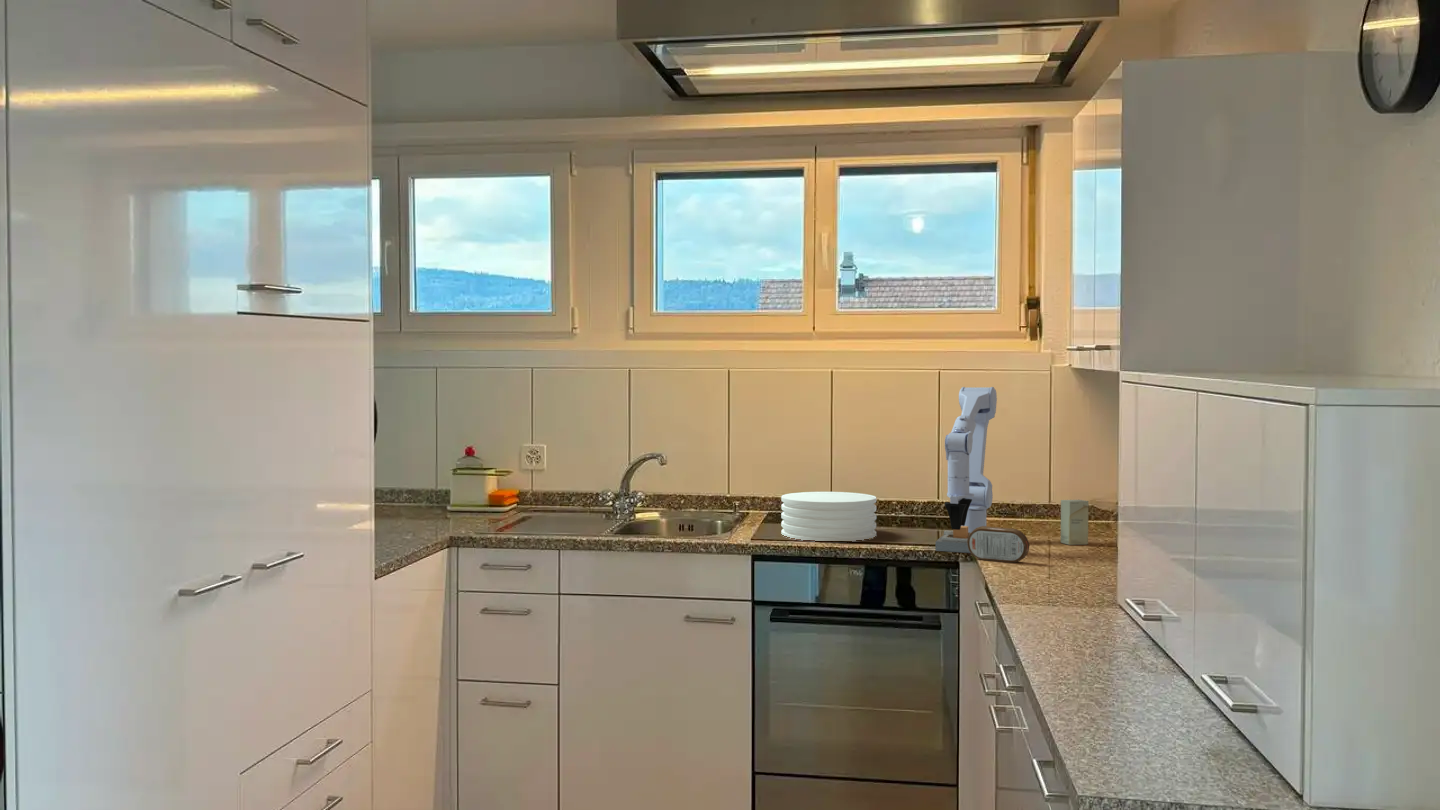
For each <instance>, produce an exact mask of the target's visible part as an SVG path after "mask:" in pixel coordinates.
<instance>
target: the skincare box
mask: <svg viewBox="0 0 1440 810" xmlns="http://www.w3.org/2000/svg"><path fill="white" fill-rule="evenodd" d="M1060 543H1061V544H1063V545H1070V546H1072V545H1073V546H1076V545H1077V546H1078V545H1089V501H1088V500H1083V499H1061V500H1060Z"/></svg>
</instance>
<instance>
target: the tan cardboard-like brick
mask: <svg viewBox="0 0 1440 810" xmlns="http://www.w3.org/2000/svg"><path fill="white" fill-rule="evenodd" d="M952 531H953V538H968V526H961V528H960V530H955V529H952Z"/></svg>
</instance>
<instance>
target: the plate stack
mask: <svg viewBox="0 0 1440 810" xmlns="http://www.w3.org/2000/svg"><path fill="white" fill-rule="evenodd" d="M780 499H781V502H782V503H781V507H780V508H781V510H782V512H781V517H780V519H782V521H781V524H780V525H781V527H782V529H781V530H780V531H781V532H780V534H782V535H784V536H787V537H790V538H789V539H791V538H795V539H794V540H796V539H801V540H800V541H803V540H815V541H852V542H857V541H856V540H862V541H865V540H864V539H869V538H872V539H874V538H873V537H875V536H876V537H877V531H876V530H877V522H875V521H876V520H877V514H876V512H877V505H876V503H877V496H876V495H872V494H869V493H868V494H867V493H861V492H860V493H859V492H848V491H847V492H846V491H802V492H792V493H791V492H790V493H785V494H782V495H781V497H780ZM782 535H781V536H782ZM784 536H783V537H784ZM787 537H786V538H787ZM876 537H875V538H876ZM869 540H870V539H869ZM815 541H814V542H815Z"/></svg>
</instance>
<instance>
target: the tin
mask: <svg viewBox="0 0 1440 810" xmlns="http://www.w3.org/2000/svg"><path fill="white" fill-rule="evenodd" d="M967 545H968V549H969V551H970V553H969V554H971V555H972V556H973V557H974V558H975V559H978V560H981V561H988V562H989V561H990V562H1002V563H1011V564H1012V563H1013V564H1014V563H1018V562H1020V561H1022V560H1023V559H1025V558H1026V557H1027V555H1028V553H1029V550H1030V543H1029V540H1028V537H1027V536H1026V534H1024V532H1022V531H1021V530H1019V529H1016V528H1009V527H998V526H997V527H996V526H988V525H986V526H981V527H978V528H976V529H974V530H973V531H972V532H971V533H970V535H969V537H968V540H967Z"/></svg>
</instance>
